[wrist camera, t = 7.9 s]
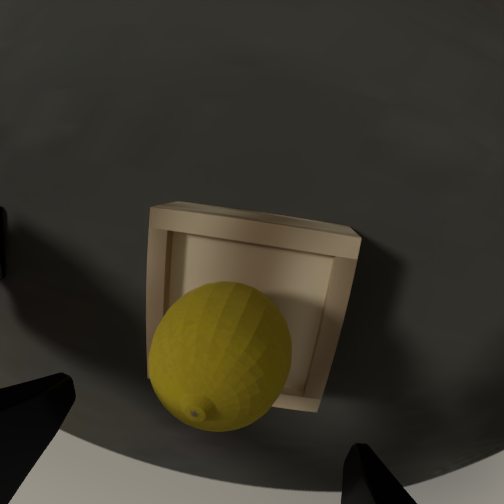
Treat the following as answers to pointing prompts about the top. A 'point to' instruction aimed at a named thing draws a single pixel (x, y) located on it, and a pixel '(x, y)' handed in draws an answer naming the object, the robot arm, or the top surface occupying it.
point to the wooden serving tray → (259, 277)
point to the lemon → (220, 356)
